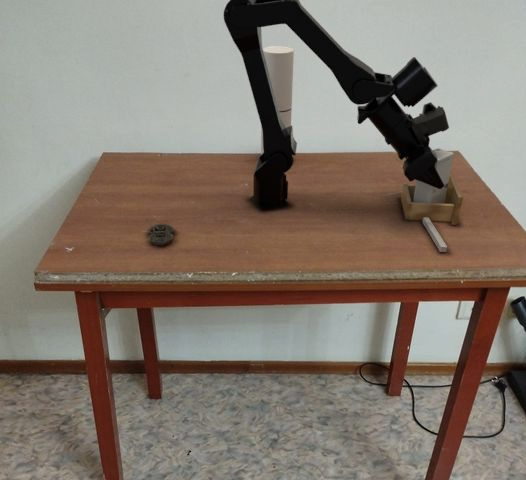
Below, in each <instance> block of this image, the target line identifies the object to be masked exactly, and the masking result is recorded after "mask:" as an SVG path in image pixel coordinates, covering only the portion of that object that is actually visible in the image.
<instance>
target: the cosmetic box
mask: <svg viewBox="0 0 526 480" xmlns="http://www.w3.org/2000/svg"><path fill="white" fill-rule="evenodd" d="M432 150H433V152H434V153H435V154H436V157H437V162H436V163H435V168H436V170H437V172H438V174H439V176H440V178H441V180H442V182H443V184H444V187H443V188H441V189H438V188H436V187H433V186H431V185H428V184H426V183H423V182H421V181H418V180H415V185H416V187H415V192H414V198H413V201H412V202H418V203H439V204H444V202H445V197H446V192H447V187H448V182H449V177H450V172H452V166H453V160H454V155H455V152H452V151H449V150H446V149H442V148H437V147H436V148H435V149H432Z"/></svg>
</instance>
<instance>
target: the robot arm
mask: <svg viewBox="0 0 526 480" xmlns="http://www.w3.org/2000/svg"><path fill="white" fill-rule="evenodd" d="M223 21H224V25H225V26H226V28H227V30H228V33H229V35H230V37H231V39H232V41H233V43H234V45H235V46H236V48H237V50H238V52H239V53H240V55H241V57H242V61H243V64H244V68H245V71H246V75H247V79H248V82H249V86H250V89H251V94H252V97H253V100H254V104H255V108H256V112H257V115H258V118H259V122H260V127H261V126H262V130H263V149H264V153H263V154H262V155H261V154H260V155H259V156H258V157H257V160H256V164H255V169H254V172H253V176H252V177H253V179H252V181H253V183H252V184H253V193H252V194H253V196H250V197H249V198H250V201H251V202H253V204H254V205H256V207H257V208H259V210H261V211H268V210H272V209H273V210H274V209H278V208H283V207H284V208H285V207H288V206H290V202H289V201H288V198H289V197H288V195H289V180H287V174H286V173H287V172H288V171H289V170H291V168H292V166H293V164H294V158H295V156H296V153H297V146H298V142H297V141H296V140H295V136H294V128H293V125H291V126H289V127H287V128H286V127H285V125H284V124H283V122H282V120H281V118H280V114H279V110H278V106H277V102H276V98H275V94H274V91H273V87H272V83H271V79H270V75H269V71H268V67H267V63H266V60H265V56H264V52H263V48H264V47H263V38H262V28H265V27H271V26H276V25H286V26H287V27H288V28H289V29H290V30H291V31H292V32H293V33H294V34H295V35H296V36H297V37H298V38H299V39H300V40H301V41H302V42H303V43H304V44H305V45H306V46H307V47H308V48H309V49H310V50H311V52H313V53H314V54H315V55H316V57H317V58H319V59H320V60H321V62H322V63H323V64H325V66H326V67H327V68H328V69H329V70H330V71H331V72H332V74H333V76H334V77H335V79H336V82H338V84H339V86H340V88H341V89H342V91H343V92H344V93H345V95H346V96H347V98H348V99H349V101H350V102H351V103H352V104H355V105H356V106H357V108H356V109H357V117H356V119H357V124H358V125H361V124H363V123H364V122H365V121H366V120H367V119H368V120H369V121H370V122H371V123H372V124H373V126H374V127H375V128H376V129H377V131H378V132H379V133H380V134H381V135H382V137H383V138H384V142H385V143H386V144H387V145H388V146H389V145H390V146H391V147H392V149H393V150H394V151H395V152H396V153H397V157H398V159H399V160H400V161H402V160H404V159H405V160H404V161H403V164H402V171H403V175H404V176H405V177H406V178H407V180H408V181H409V182H411V183H412V182H414V181H417V180H418V181H421V182H423V183H426V184H428V185H431V186H433V187H436V188H438V189H441V188H443V187H444V184H443V182H442V180H441V178H440V176H439V174H438V172H437V170H436V168H435V163H436V162H437V157H436V154H435V153H434V152H433V150H434V149H432V148H431V146H430V142H431V140H430V137H431V136H433V135H436V134H437V133H441V132H442V133H443V132H446V131H447V130H449V129H450V126H449V121H448V118H447V114H446V111H445V109H444V107H443V106H441V105H438V106H437V107H436V105H434V103H432V102H427V103H425V104H423V107H422V112H421V113H419V114H418V115H417V116H415V117H413V115H411V113H407V112H405V111H404V109H403V108H402V107H401V106H400V105H399V103H400V104H401V105H402V106H403V107H404V108H406V107H408V108H410V107H412V108H414V107H415V106H416V105H417V104H419V103H420V102H421V101H422V100H423V99H424V98H426V97H427V96H428V95H429V94H430V93H432V92H433V91H434V90H435V89H436V88H437V87H438V84H437V81H436V80H435V79H434V78H433V76H432V75H431V73H430V72H429V71H428V69H427V67H425V66H423V65H422V64H421V62H420V61H419V60H418V59H417V57H416V56H413V57H412V58H410V60H409V61H407V63H406V65H404V66H403V67H402V68H401V69H400V70H399V71H398V72H397V73H396V74H394V75H393V76H392V75H391V74H387V73H381V72H376V71H374V69H373V68H372V67H370V66H369V65H368V64H366V63H365V62H364V61H362V60H361V59H360V58H358V57H356V56H355V55H353V54H351V53H349V52H348V51H347V50H345V49H344V48H343V47H342V46H341V45H340V44H339V43H338V42H337V40H335V39H334V37H332V35H331V34H329V32H328V31H327V30H326V29H325V28H324V27H323V26H322V25H321V24H320V23H319V22H318V21H317V20H316V19H315V17H313V15H312V14H311V13H310V12H309V11H308V10H307V9H306V8H305V7H304V6H303V5H302V3H301V1H300V0H229V1H228V2H227V3H226V5H225V7H224V10H223ZM393 96H395V98H396V99H397V100H398V101H399V103H398V102H397V101H396V99H394V97H393Z"/></svg>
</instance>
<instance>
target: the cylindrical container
mask: <svg viewBox="0 0 526 480" xmlns="http://www.w3.org/2000/svg"><path fill="white" fill-rule="evenodd" d="M262 48H263V52H264V56H265V60H266V63H267V67H268V71H269V75H270V79H271V83H272V87H273V91H274V94H275V98H276V102H277V106H278V110H279V114H280V118H281V120H282V122H283V124H284V125H285V127H286V128H287V127H289V126H292V110H293V109H292V108H293V84H294V83H293V82H294V58H295V57H294V56H295V49H294V48H292V47H288V46H283V45H271V46H266V47H265V46H264V47H262ZM260 134H261V135H260V156H261V155H262V154H263V153H264V149H263V130H262V126H261V125H260Z"/></svg>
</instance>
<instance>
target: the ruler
mask: <svg viewBox="0 0 526 480" xmlns="http://www.w3.org/2000/svg"><path fill="white" fill-rule="evenodd" d="M421 221H422V222H421V223H422V224H423V226H424V228H425V230H426V231H427V233H428V234H429V236H430V237H431V239H432V241H433V242H434V244H435V246H436V247H437V249H438V251H439V252H440V253H447V250H448V245H447V244H446V242H445V241H444V240H443V238H442V236H441V234H440V233H439V231H438V230H437V228H436V227H435V225H434V224H433V221H431V220H430V219H429V217H423V220H421Z"/></svg>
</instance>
